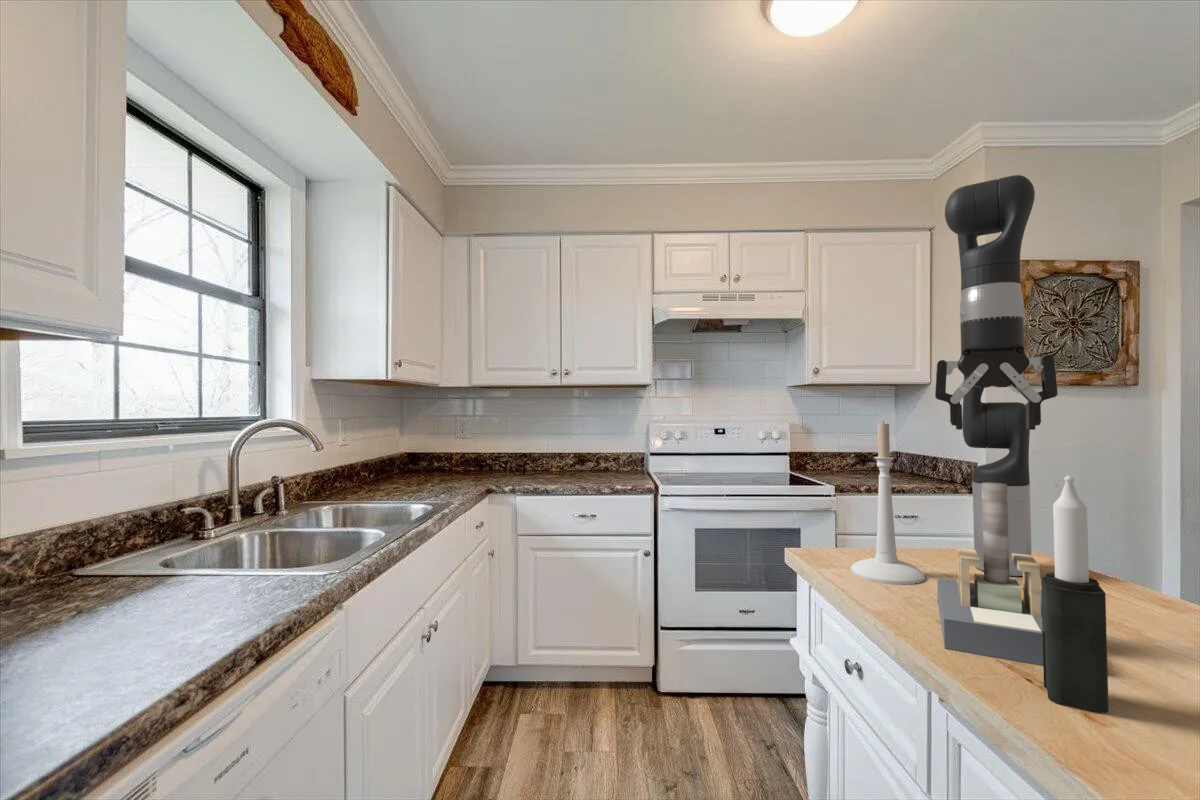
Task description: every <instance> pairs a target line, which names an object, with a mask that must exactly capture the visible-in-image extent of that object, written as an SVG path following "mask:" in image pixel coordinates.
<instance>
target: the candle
mask: <svg viewBox="0 0 1200 800" xmlns="http://www.w3.org/2000/svg"><path fill="white" fill-rule="evenodd" d="M1063 479H1064V480H1063V481H1064V482H1065V483H1064V486H1063V488H1062V490H1061V493H1060V496H1059V497H1058V498H1057V500H1055V502H1054V503H1053V505H1052V512H1053V513H1052V514H1053V515H1052V519H1053V520H1052V521H1053V547H1054V548H1053V553H1054V555H1053V557H1054V572H1048V573H1045V576H1042V577H1040V590H1041V593H1042V632H1043V665H1042V667H1043V670H1042V671H1043V687H1044V688H1045V689H1046V691H1047V698H1048V700H1049V701H1051V702H1053V703H1055V704H1058V705H1061V706H1063V707H1064V706H1065V707H1068V708H1069V707H1070V708H1074V709H1079V710H1084V711H1089V712H1092V713H1097V714H1107V713H1109V711H1110V710H1109V678H1108V676H1109V675H1108V674H1109V673H1108V671H1109V670H1108V640H1107V639H1108V638H1107V637H1108V636H1107V635H1108V634H1107V608H1106V607H1107V606H1106V605H1107V604H1106V592H1105V591H1104V590H1103V588H1102V587H1101V586H1100V582H1099V581H1098V580H1097V579H1094V578H1092V577H1090V573H1089V572H1090V569H1089V567H1090V566H1089V533H1088V530H1089V528H1088V507H1087V506H1086V504H1085V503H1084V502H1083V501H1082V499H1081V498H1080V497H1079V494H1078V492H1077V490H1076V487H1075V485H1074V483H1073V482H1074V481H1075V478H1074V477H1073V476H1071V475H1066V476H1065V477H1064V478H1063Z"/></svg>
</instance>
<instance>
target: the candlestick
mask: <svg viewBox="0 0 1200 800" xmlns="http://www.w3.org/2000/svg"><path fill="white" fill-rule="evenodd" d="M877 445H878V446H877V448H878V450H877V451H878V452H877V454H878V455H877V456H874V457H873V458H874V459H875V460H876V466H877V468H879V469H878V470H879V475H878V493H877V498H878V499H877V521H876V522H877V527H876V545H875V546H876V548H875V551H876V552H875V557H870V558H864V559H860V560H858V561H856V562H854V563H853V564H851V566H850V573H852V574H853V575H854V576H856V577H858V578H861V579H863V580H866V579H867V580H866V581H869V580H870V581H871V582H874V581H875V582H874V583H879V582H880V583H879V584H885V583H887V585H897V586H898V585H900V586H903V585H904V586H906V585H907V584H910V585H916V584H915V583H917V584H921V583H923V582H925V578H926V575H925V574H924V573H923V571H921V569H919V568H918V567H916V566H914V565H912V564H910V563H908V562H905V561H902V560H899V559H898V555H897V544H896V536H895V535H896V534H895V532H896V531H895V523H894V508H893V495H892V484H891V481H892V480H891V475H890V470H891V469H890V468H892V466H893V464H892V461H893V460H894V459H895V457H892V456H890V455H891V454H890V453H891V452H890V451H891V450H890V423H885V421H884V420H883V421H882V422H881V423H877ZM922 581H923V582H922ZM920 582H921V583H920Z"/></svg>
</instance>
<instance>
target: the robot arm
mask: <svg viewBox="0 0 1200 800" xmlns="http://www.w3.org/2000/svg"><path fill="white" fill-rule="evenodd" d="M1035 192H1036V191H1035V187H1034V185H1033V183H1032V182H1031V180H1030V179H1029V178H1027V177H1026V176H1024V175H1020V174H1013V175H1009V176H1004V177H1001V178H1000V177H999V178H997V179H990V180H987V181H982V182H977V183H972V184H968V185H963V186H960V187H958V188H956V189H955V190H954V191H952V192H951V194H950V195H949V197H948V198H947V200H946V203H945V205H944V206H945V208H944V218H945V223H946V225H947V227H948V228H949V229H950V231H951V232H952V233H954V234H956V235H957V243H958V253H959V254H958V255H959V263H960V264H959V266H960V302H959V319H960V321H959V322H960V326H959V327H960V357H959V360H958V361H957V360H956V361H955V360H944V359H941V360H939V361H937V362H936V370H935V371H936V372H935V392H934V393H935V394H934V396H935V399H936V400H938V401H941V402H942V401H943V402H945V403H948V405H949V421H950V422H949V423H950V424H951V426H955V429H956V431H957V430H962V435H963V436H962V437H963V440H964V443H965V444H966V446H968V447H969V448H974V449H1000V450H1001V449H1002V450H1003V449H1004V450H1005V449H1006V450H1008V453H1007V454H1006V455H1005V456H1004V457H1002V458H1000V459H999V460H996V461H993V462H990V463H985V464H982V465H977V466H976V467H973V468H972V475H971V476H972V477H971V479H972V480H971V481H972V505H973V506H972V508H973V509H972V511H973V512H972V513H973V550H975V551H976V553H977V555H978V557H979V559H980V567H978V566H974V567H975V568H976V569H979V570H981V571H983V572H984V557H983V516H982V483H1002V484H1007V499H1008V539H1009V577H1011V576H1013V577H1020V576H1021V577H1023V571H1019V570H1018V568H1017V567H1016V565H1015V564H1014V562H1013V561H1012V553H1014V554H1025V555H1031V556H1032V520H1031V519H1032V518H1031V517H1032V516H1031V515H1032V514H1031V513H1032V512H1031V510H1032V509H1031V485H1030V484H1031V482H1030V462H1029V461H1030V455H1029V454H1030V436H1031V435H1030V433H1031V431H1034V430H1036V426H1040V425H1041V423H1042V414H1041V413H1042V410H1041V405H1042V403H1043V402H1044V401H1045V400H1049V399H1053V398H1056V397H1057V396H1058V395H1059V394H1058V384H1057V375H1056V373H1057V372H1056V366H1055V363H1056V362H1055V357H1054V356H1053V355H1051V354H1046V355H1044V356H1034V357H1028V355H1027V354H1026V351H1025V319H1024V317H1025V316H1024V314H1025V307H1024V297H1023V291H1022V287H1021V283H1022V282H1021V250H1022V243H1023V238H1024V235H1025V230H1026V227H1027V224H1028V221H1029V218H1030V216H1031V212H1032V210H1033V206H1034V202H1035V199H1036V198H1035ZM999 233H1000V235H998V236H997V238H995V239H993V240H991V241H989V242H986V243H984V244H981V245H979V243H978V237H981V236H987V235H993V234H999ZM1029 366H1032V367H1033V369H1034V371H1035V372H1037V373H1039V372H1040V380H1041V381H1040V382H1041V390H1040V391H1038V392H1037V391H1036V390H1035V389H1034V388H1033V387H1032V386H1031V384H1029V382H1028V381H1027V380H1026V379H1025V378H1024V377H1023V376H1021V375H1022V374H1023V373H1024V372H1025V370H1027V368H1028V367H1029ZM954 369H958V370H959V371H960V372H961V374H962V375H963V381H962V382H961V384H960V385H959V386H958V388H956V390H955V391H954V392H953V393H952V394H950V393H948V392H947V390H946V389H947V376H949V375H952V373H953V372H954ZM1010 386H1012V387H1013V388H1014V389H1015V390H1016V391H1017V392H1019V393H1020V395H1022V396H1023V397H1024V399H1026V400H1027V403H1024V402H1017V401H1016V402H1013V401H1012V402H1011V401H1010V402H1009V401H1008V402H1007V401H1006V402H1004V401H1003V402H1002V401H999V402H983V401H982V396H983V393H984V390H985V389H986V388H991V387H994V388H1007V387H1010ZM961 401H962V404H961ZM1030 430H1031V431H1030ZM1032 557H1033V556H1032Z"/></svg>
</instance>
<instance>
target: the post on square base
mask: <svg viewBox="0 0 1200 800" xmlns="http://www.w3.org/2000/svg"><path fill="white" fill-rule="evenodd" d="M982 516H983V557H984V571H983V574H981V573H973V581H974V592H975V599H976V602H977V605H978V608H985V609H992V610H999V611H1007V612H1014V613H1021V614H1022V596H1021V588H1022V586H1021V585H1020V584H1019V582H1018V580H1017V579H1016V578H1015V577H1010V575H1009V539H1008V499H1007V484H1002V483H982ZM1020 586H1021V587H1020Z"/></svg>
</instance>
